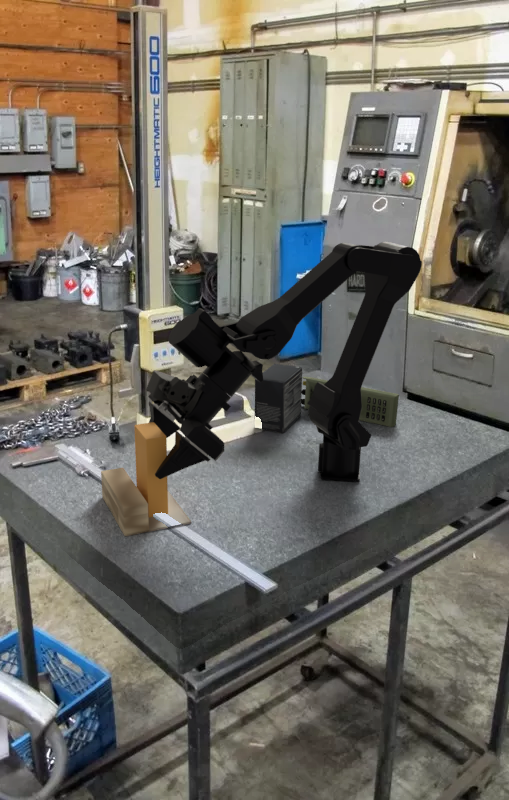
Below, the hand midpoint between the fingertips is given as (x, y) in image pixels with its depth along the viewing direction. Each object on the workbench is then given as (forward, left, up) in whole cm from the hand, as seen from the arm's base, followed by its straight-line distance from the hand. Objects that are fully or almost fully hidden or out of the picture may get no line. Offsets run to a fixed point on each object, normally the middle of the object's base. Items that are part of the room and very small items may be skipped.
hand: (147, 464), depth 113 cm
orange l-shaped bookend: (+1, 0, -7) cm, 7 cm away
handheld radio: (-29, -45, -8) cm, 54 cm away
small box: (-17, -39, -8) cm, 43 cm away
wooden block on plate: (0, 0, -7) cm, 7 cm away
